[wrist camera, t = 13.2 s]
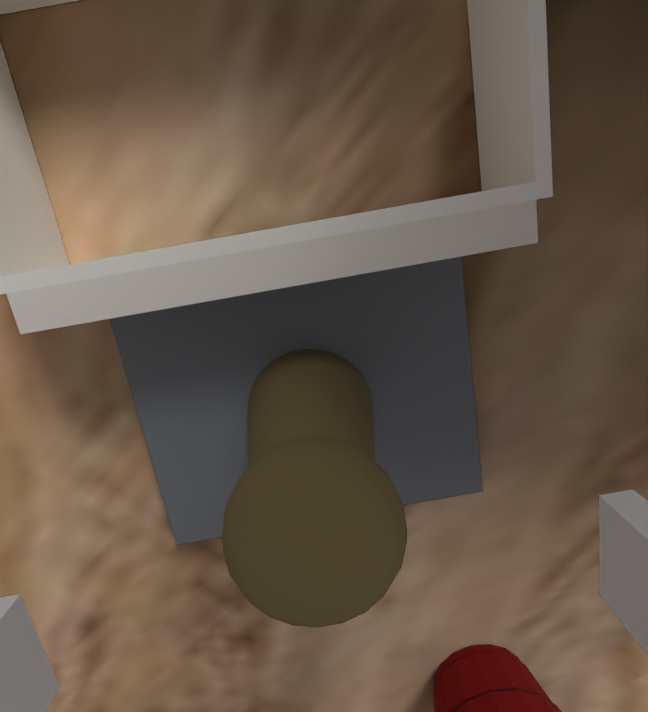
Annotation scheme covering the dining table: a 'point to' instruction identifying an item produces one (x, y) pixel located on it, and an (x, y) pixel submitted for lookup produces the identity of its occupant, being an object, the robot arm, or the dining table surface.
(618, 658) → the dining table surface
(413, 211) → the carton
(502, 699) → the plastic cup
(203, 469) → the slate mat
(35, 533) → the dining table surface
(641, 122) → the dining table surface
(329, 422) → the olive rounded lobed piece
